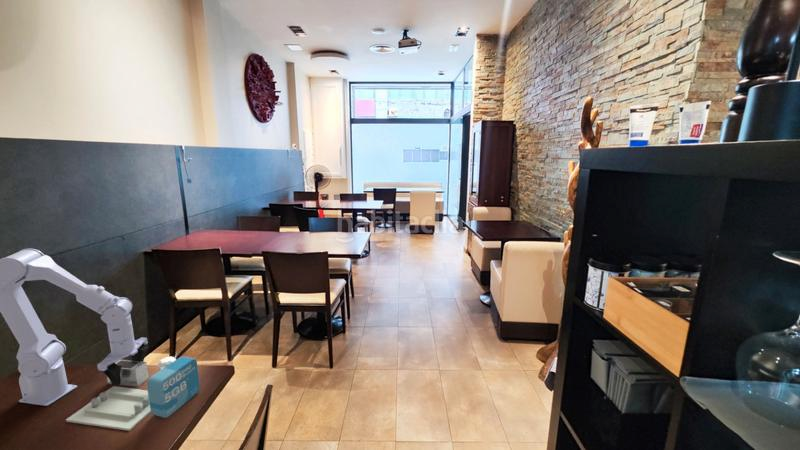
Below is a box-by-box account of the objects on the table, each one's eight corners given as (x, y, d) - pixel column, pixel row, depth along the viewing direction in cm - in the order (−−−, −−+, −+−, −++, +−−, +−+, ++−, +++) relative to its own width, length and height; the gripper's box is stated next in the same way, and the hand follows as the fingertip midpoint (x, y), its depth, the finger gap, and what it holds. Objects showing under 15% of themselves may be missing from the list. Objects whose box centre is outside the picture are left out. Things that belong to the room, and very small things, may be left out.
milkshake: (184, 381, 103) (181, 353, 101) (165, 391, 98) (161, 362, 96) (176, 376, 105) (173, 349, 103) (158, 385, 101) (154, 357, 99)
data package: (164, 421, 88) (159, 383, 85) (151, 417, 89) (145, 379, 86) (200, 390, 99) (196, 356, 97) (188, 387, 100) (184, 353, 98)
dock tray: (66, 421, 86) (64, 412, 86) (113, 387, 99) (112, 379, 98) (129, 430, 84) (128, 421, 84) (169, 395, 97) (168, 387, 97)
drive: (108, 383, 101) (105, 366, 99) (119, 375, 105) (117, 358, 103) (137, 386, 100) (135, 369, 99) (148, 378, 104) (146, 361, 103)
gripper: (110, 353, 92) (117, 394, 95) (153, 326, 106) (158, 363, 109) (88, 350, 92) (95, 391, 95) (134, 324, 106) (139, 360, 109)
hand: (127, 376), depth 102 cm, fingers open, 7 cm apart
